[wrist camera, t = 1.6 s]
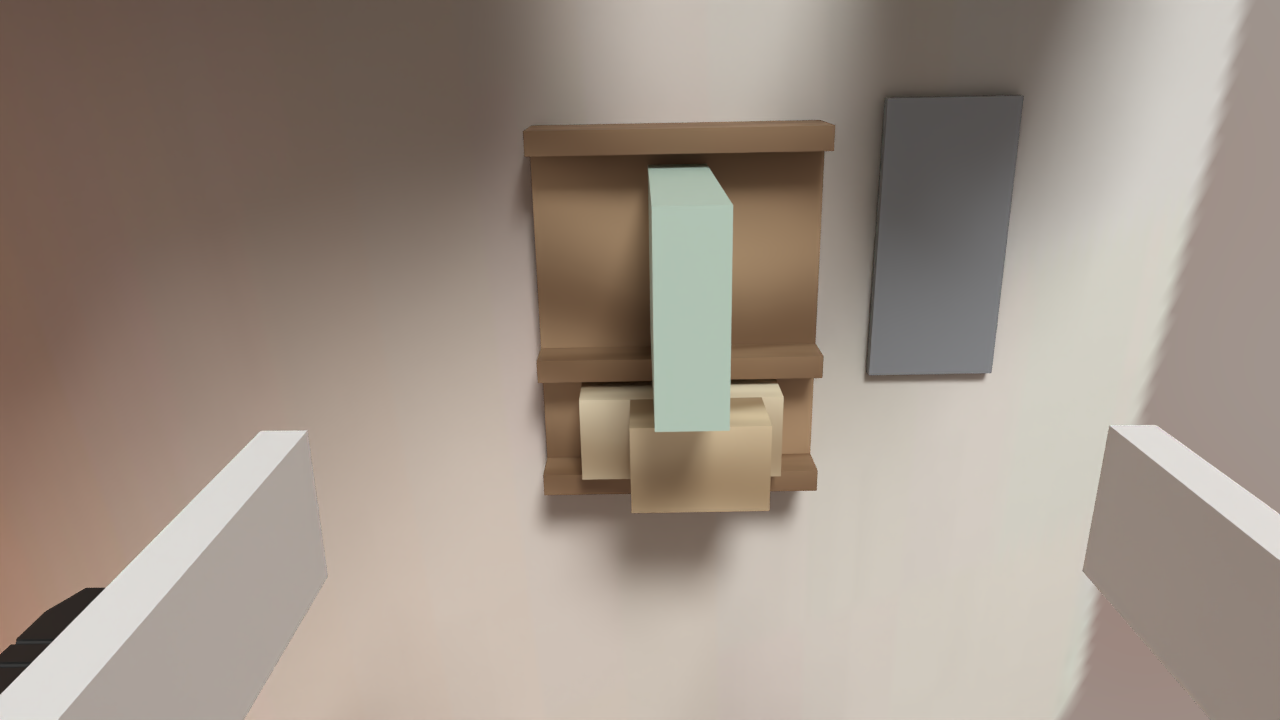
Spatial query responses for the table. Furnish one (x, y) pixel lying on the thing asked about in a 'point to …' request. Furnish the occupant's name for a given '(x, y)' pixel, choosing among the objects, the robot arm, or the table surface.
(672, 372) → the sheet
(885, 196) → the mat
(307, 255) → the table surface
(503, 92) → the table surface
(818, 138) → the rack
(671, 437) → the offcut top
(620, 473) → the block
